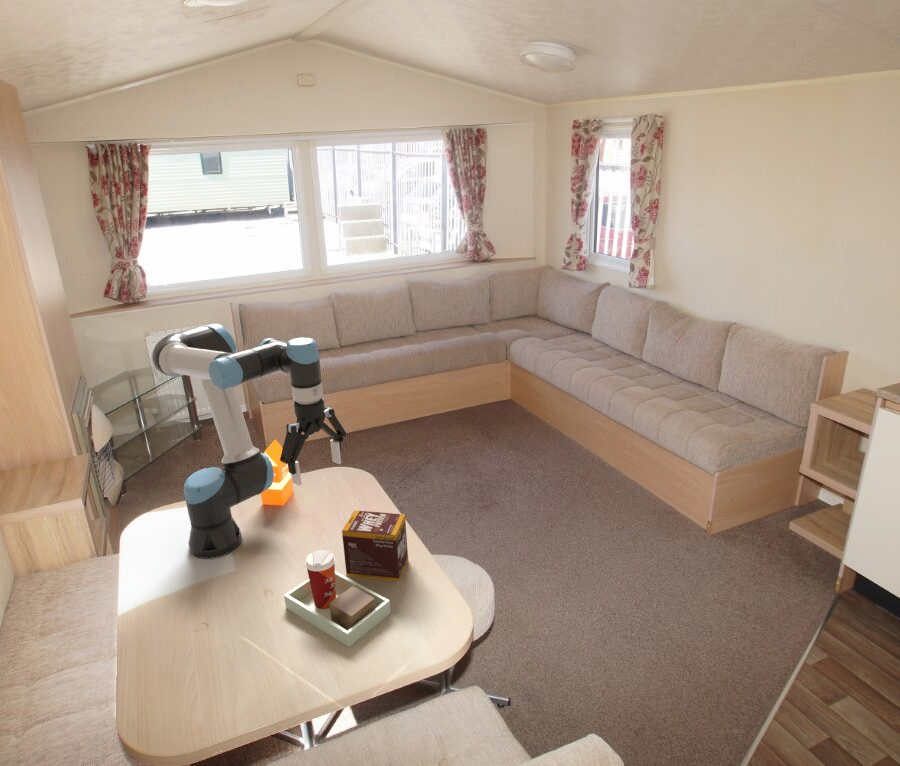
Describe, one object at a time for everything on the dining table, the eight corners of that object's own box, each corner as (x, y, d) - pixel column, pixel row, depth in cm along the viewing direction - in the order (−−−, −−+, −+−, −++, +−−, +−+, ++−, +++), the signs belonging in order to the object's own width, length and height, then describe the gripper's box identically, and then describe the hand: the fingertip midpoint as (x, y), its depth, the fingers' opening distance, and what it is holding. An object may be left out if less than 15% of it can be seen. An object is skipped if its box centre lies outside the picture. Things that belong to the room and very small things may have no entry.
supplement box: (399, 583, 180) (395, 535, 175) (346, 578, 183) (340, 530, 178) (409, 560, 190) (406, 513, 184) (358, 555, 193) (353, 509, 187)
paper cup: (337, 611, 170) (331, 566, 165) (307, 612, 170) (301, 567, 165) (342, 591, 177) (337, 547, 172) (314, 592, 177) (308, 548, 172)
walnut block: (331, 622, 166) (329, 603, 164) (354, 604, 172) (352, 586, 170) (353, 635, 161) (351, 616, 159) (376, 617, 167) (374, 598, 165)
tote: (286, 609, 172) (284, 595, 170) (328, 580, 183) (326, 566, 181) (349, 649, 158) (347, 634, 157) (391, 614, 169) (389, 600, 167)
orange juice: (261, 504, 221) (253, 450, 214) (272, 490, 229) (264, 438, 222) (284, 505, 220) (275, 451, 213) (294, 491, 228) (286, 439, 221)
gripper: (277, 419, 156) (288, 497, 164) (354, 386, 174) (361, 458, 182) (258, 412, 161) (269, 488, 168) (335, 380, 178) (343, 450, 186)
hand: (317, 472), depth 175 cm, fingers open, 13 cm apart
